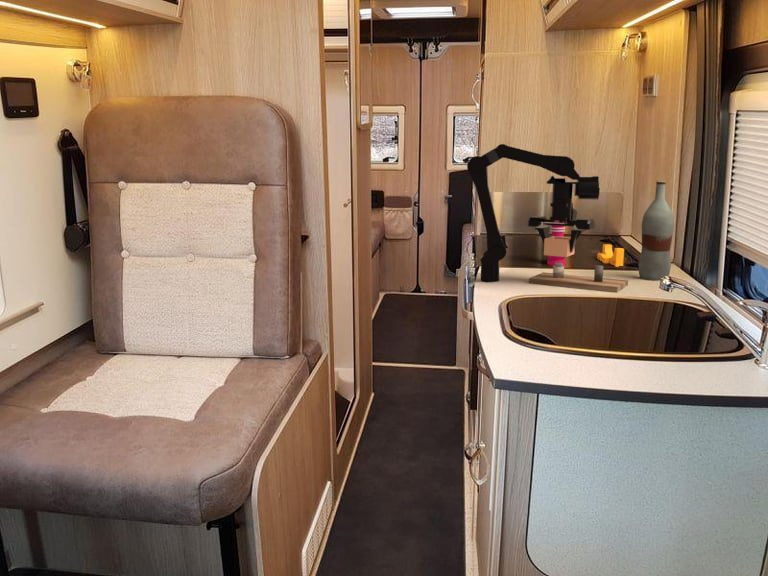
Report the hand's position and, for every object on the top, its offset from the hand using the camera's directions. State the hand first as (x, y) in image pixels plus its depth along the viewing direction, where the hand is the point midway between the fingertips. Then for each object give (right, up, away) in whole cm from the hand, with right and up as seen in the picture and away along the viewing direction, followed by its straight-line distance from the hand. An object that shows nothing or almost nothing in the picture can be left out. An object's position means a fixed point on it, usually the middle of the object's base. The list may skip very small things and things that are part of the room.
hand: (559, 251), depth 188 cm
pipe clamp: (+27, -3, +34) cm, 44 cm away
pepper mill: (+8, -3, +32) cm, 33 cm away
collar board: (+5, -10, -1) cm, 11 cm away
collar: (0, -1, 0) cm, 1 cm away
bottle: (+32, -8, +7) cm, 33 cm away
